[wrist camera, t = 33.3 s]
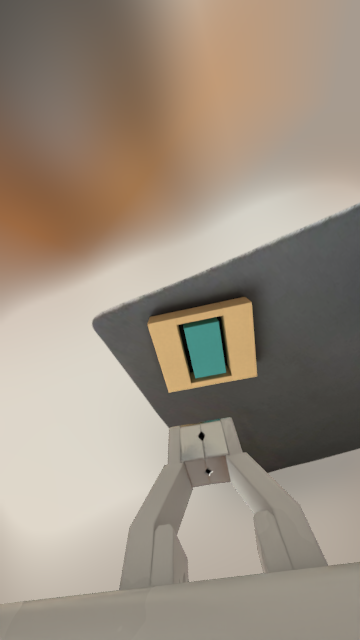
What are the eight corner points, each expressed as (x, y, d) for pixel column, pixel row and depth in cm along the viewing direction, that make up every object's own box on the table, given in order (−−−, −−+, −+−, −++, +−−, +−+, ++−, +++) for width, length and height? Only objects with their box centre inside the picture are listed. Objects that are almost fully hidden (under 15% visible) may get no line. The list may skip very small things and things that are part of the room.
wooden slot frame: (245, 296, 31) (251, 302, 28) (251, 365, 36) (257, 376, 33) (149, 316, 32) (147, 324, 29) (169, 381, 37) (168, 392, 34)
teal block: (215, 314, 32) (218, 321, 29) (222, 362, 35) (226, 372, 33) (183, 320, 32) (183, 328, 29) (193, 367, 36) (195, 378, 33)
